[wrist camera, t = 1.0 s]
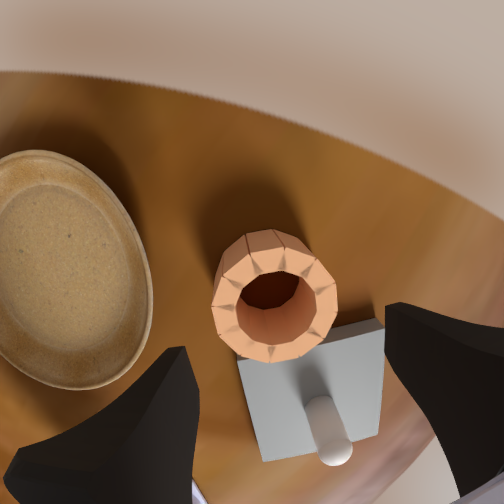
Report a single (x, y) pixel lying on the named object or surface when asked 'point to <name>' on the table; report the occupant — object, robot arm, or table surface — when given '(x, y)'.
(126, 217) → the plant saucer
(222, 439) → the table surface
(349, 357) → the post base
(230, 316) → the ring
